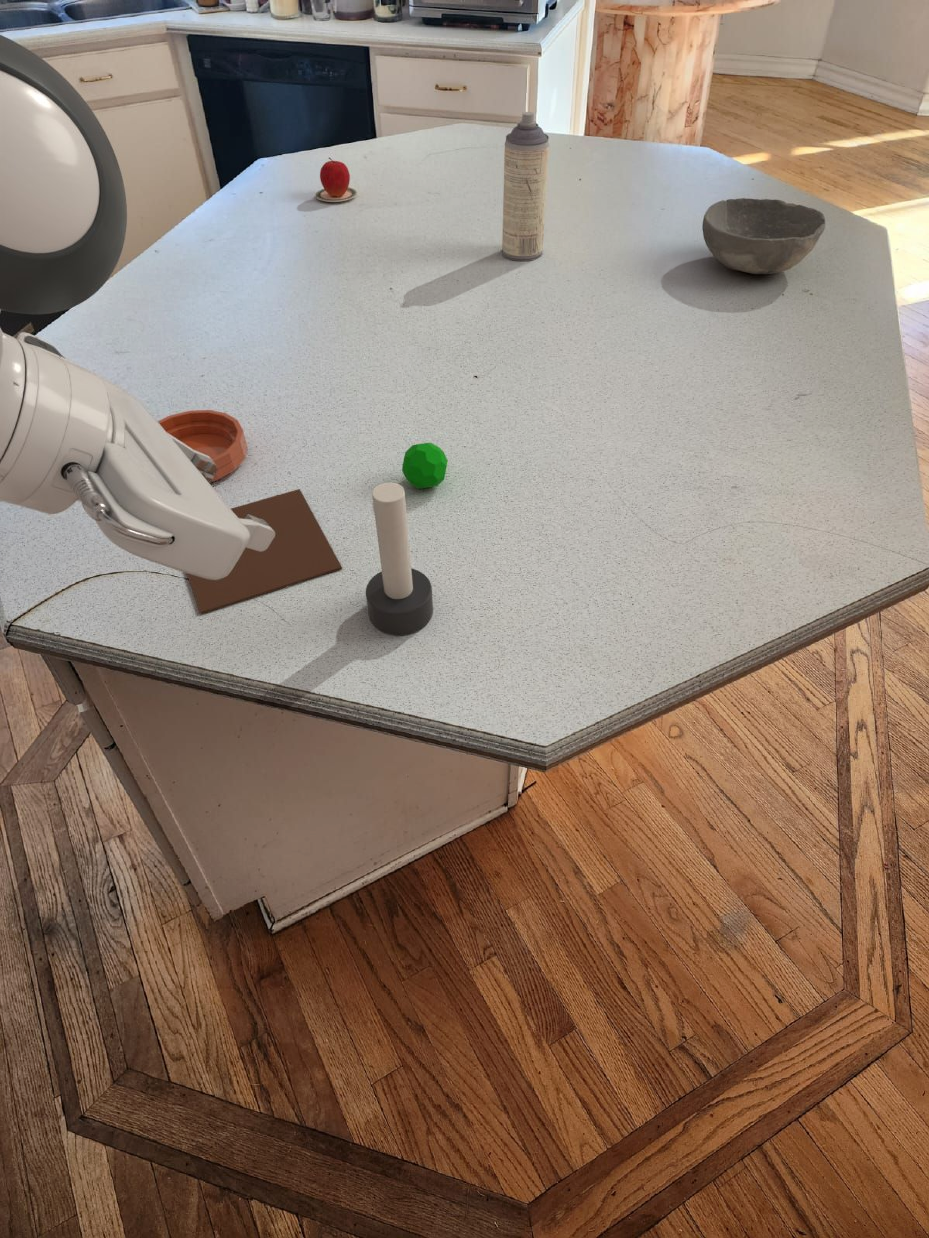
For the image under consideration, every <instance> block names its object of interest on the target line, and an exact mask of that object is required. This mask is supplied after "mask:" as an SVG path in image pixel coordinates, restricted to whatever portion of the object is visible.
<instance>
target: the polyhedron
mask: <svg viewBox="0 0 929 1238" xmlns="http://www.w3.org/2000/svg"><path fill="white" fill-rule="evenodd" d="M447 467H448V458H447V456H446V454H445V452H444V450H443V449H441V448H440V447H439V446H438V445H436V444H434V443H432V442H424V443H423V442H421V443H416V444H412V445H411V446H410V447H409V448H408V449H406V451H405V452H404V456H403V461H402V467H401V468H402V469H401V472H402V473H403V475H404V477H405V480H406V481H407V482H408V483H409V484H410V485H411V486H413V487H415V488H417V489H419V490H420V489H427V488H433V487H438V486H439V485H440V484H441V483H442V482H443V481H444V480H445V477H446V472H447Z"/></svg>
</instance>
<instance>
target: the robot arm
mask: <svg viewBox="0 0 929 1238" xmlns="http://www.w3.org/2000/svg"><path fill="white" fill-rule="evenodd" d="M126 195H127V194H126V189H125V184H124V179H123V176H122V170H121V168H120V164H119V161H118V159H117V156H116V153H115V150H114V148H113V146H112V143H111V141H110V139H109V137H108V135H107V133H106V131H105V129H104V128H103V126H102V124H101V123H100V121H99V118H98V117H97V116H96V115H95V113H94V111H93V110H92V108H91V107H90V106H89V104H88V103H87V102H86V100H85V99H84V98H83V97H82V95H81V94H80V93H79V92H78V90H77V89H76V88H75V87H74V86H73V84H71V83H70V82H69V80H67V78H65V77H64V76H63V75H62V74H61V73H60V72H59V71H58V70H57V69H56V68H54V67H53V66H52V65H51V64H49V63H48V62H47V61H45V59H43V58H41V57H40V56H39V55H38V54H36V53H35V52H33V51H32V50H30V49H29V48H27V47H25V46H24V45H22V44H19V43H18V42H17V41H14V40H13V39H10V38H8V37H7V36H4V35H2V34H0V313H1V311H6V312H10V313H17V314H23V315H47V314H48V315H49V314H54V313H59V312H63V311H66V310H69V309H72V308H74V307H77V306H79V305H81V304H82V303H84V302H86V301H87V300H89V299H90V298H92V297H93V296H94V295H95V294H97V292H98V291H100V290H101V288H102V287H103V286H104V285H105V284H106V283H107V281H109V278H110V277H111V275H112V274H113V272H114V270H115V269H116V267H117V265H118V263H119V260H120V257H121V255H122V252H123V248H124V244H125V241H126V234H127V226H128V225H127V224H128V208H127V207H128V205H127V196H126ZM158 421H159V420H157V419H156V418H155V416H154V415H153V414H152V413H151V412H150V410H149V409H148V408H147V407H146V405H145V404H144V403H143V402H142V401H141V400H140V399H138V398H137V397H135V396H134V395H133V394H131V393H130V392H128V391H127V390H125V389H124V388H122V387H120V386H119V385H117V384H115V383H113V382H112V381H110V380H107V378H106V379H105V377H102V376H100V375H98V374H97V373H95V372H93V371H91V370H89V369H87V368H85V367H83V366H81V365H79V364H77V363H76V362H74V361H72V360H70V359H68V358H66V357H65V356H64V355H63V354H61V352H60V351H58V349H57V348H56V347H55V346H54V345H53V344H52V343H50V342H49V341H47V340H45V339H42V338H40V337H39V336H36V335H33V334H32V333H28V332H25V331H22V332H19V334H18V335H17V337H14V336H11V335H9V334H7V333H6V332H4V331H3V330H2V328H1V327H0V502H3V503H6V504H11V505H15V506H19V507H22V508H25V509H29V510H32V511H36V512H38V513H39V512H40V513H43V514H47V515H57V514H60V513H63V512H64V511H66V510H68V509H70V507H72V506H74V504H75V503H77V502H80V503H81V505H82V508H83V510H84V512H85V513H86V514H87V515H88V517H90V518H91V519H92V520H94V521H95V523H96V525H97V527H99V530H100V531H101V532H102V533H103V535H104V536H105V537H106V538H107V539H108V540H109V541H110V542H111V543H112V544H114V545H115V546H116V547H118V548H119V549H122V550H124V551H125V552H127V553H129V554H131V555H134V556H136V557H138V558H141V559H144V560H147V561H148V562H152V563H155V564H158V565H161V566H163V567H167V568H170V569H173V570H176V571H178V572H182V573H186V574H187V573H188V574H192V575H195V576H198V577H202V578H205V579H210V580H218V579H221V578H224V577H226V576H227V575H228V574H229V573H230V572H231V571H232V569H233V568H234V566H235V564H236V563H237V561H238V560H239V558H240V556H241V555H242V553H243V551H244V549H245V548H249V549H253V550H256V551H260V552H261V551H265V550H266V549H268V547H269V545H270V544H271V542H272V540H273V539H274V537H275V531H274V530H273V529H272V528H271V527H270V526H269V525H268V524H267V522H266V521H265V520H263V519H259V518H257V517H255V516H252V515H249V514H247V516H246V518H245V519H241V518H238V517H237V516H236V514H234V512H233V511H232V510H231V508H230V506H229V505H228V504H227V503H226V501H225V500H224V499H223V497H221V495H220V494H219V493H218V492H217V490H216V489H215V488H214V487H213V486H212V485H211V483H213V482H212V480H213V478H214V475H215V474H216V473H217V471H218V467H217V465H216V464H215V463H214V462H213V460H212V459H211V458H210V457H209V456H208V455H205V454H203V453H200V452H198V451H195V450H193V449H192V448H190V447H189V446H187V445H186V444H184V443H182V442H181V441H179V440H178V439H176V438H175V437H173V436H172V435H170V434H169V433H167V432H166V431H165V430H164V429H163V427H162V426H161V425H160V424H159V423H158Z"/></svg>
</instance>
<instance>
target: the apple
mask: <svg viewBox="0 0 929 1238" xmlns="http://www.w3.org/2000/svg"><path fill="white" fill-rule="evenodd" d="M328 159H329V161H326V162H325V163H323V165H322V166H321V168H320V171H319V180H320V183H321V185H322V187H323V188H321V189H319V190H318V191H317V192H315V198H316V199H317V200H319V201H322V202H327V203H328V202H329V203H341V202H345V201H350V200H352V199H354V198H356V197H357V195H358V191H357V189H355V188H352V187H349V185H350V181H351V180H350V179H351V175H350V171H349V169H348V167H347V165H346V164H345V163H344V162H342V161H339V160H333V159H332V158H331V157H328Z"/></svg>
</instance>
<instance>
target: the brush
mask: <svg viewBox="0 0 929 1238" xmlns="http://www.w3.org/2000/svg"><path fill="white" fill-rule="evenodd" d="M371 495H372V497H371V498H372V504H373V512H374V521H375V527H376V535H377V536H376V538H377V543H378V553H379V560H380V566H381V571H379V572H377V573H376V574H375V575H373V576H372V577H371V579H370V580H369V581H368V583H367V584H366V588H365V598H366V599H365V600H366V606H367V611H368V619H369V621H370V623H371V624H372V625H373V627H374V628H375V629H377V630H378V631H379V632H382V633H384V634H387V635H391V636H407V635H408V636H409V635H411V634H414V633H417V632H419V631H421V630H423V629H424V628H425V627H426V626H427V625H428V624H429V623H430V621H431V620H432V617H433V615H434V603H433V602H434V601H433V588H432V583H431V581H430V579H429V577H427V576H426V574H424V573H423V572H422V571H420V570H418V569H415V568H412V562H411V551H410V550H411V549H410V539H409V537H410V536H409V527H408V516H407V504H406V493H405V488H404V487H403V486H402V485H401V484H399V483H396V482H391V481H389V482H383V483H382V482H381V483H380V484H377V485H376V486H375V487H373V489H372V492H371Z"/></svg>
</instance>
